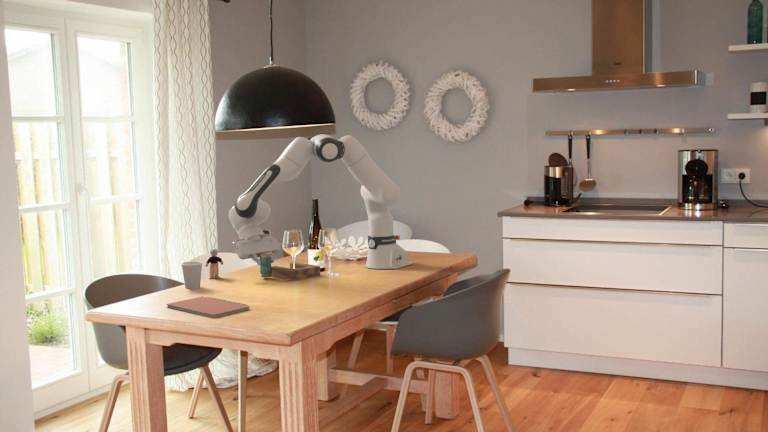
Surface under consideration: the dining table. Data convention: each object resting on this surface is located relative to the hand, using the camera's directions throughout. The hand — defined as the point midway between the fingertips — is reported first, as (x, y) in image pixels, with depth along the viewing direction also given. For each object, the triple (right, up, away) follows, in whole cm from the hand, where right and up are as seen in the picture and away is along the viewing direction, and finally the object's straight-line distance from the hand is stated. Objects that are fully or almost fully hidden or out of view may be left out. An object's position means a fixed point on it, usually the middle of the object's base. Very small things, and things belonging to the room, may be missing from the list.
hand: (266, 263), depth 340 cm
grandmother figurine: (-22, -7, +5) cm, 24 cm away
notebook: (-13, -14, -52) cm, 55 cm away
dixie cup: (-27, -9, -15) cm, 33 cm away
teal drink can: (0, -6, +1) cm, 6 cm away
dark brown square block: (+11, -6, +6) cm, 14 cm away
